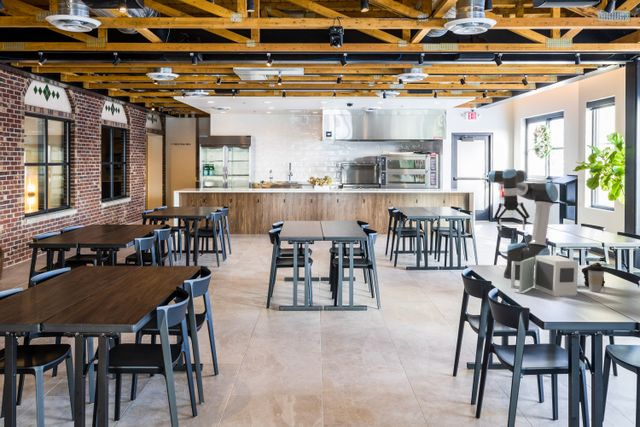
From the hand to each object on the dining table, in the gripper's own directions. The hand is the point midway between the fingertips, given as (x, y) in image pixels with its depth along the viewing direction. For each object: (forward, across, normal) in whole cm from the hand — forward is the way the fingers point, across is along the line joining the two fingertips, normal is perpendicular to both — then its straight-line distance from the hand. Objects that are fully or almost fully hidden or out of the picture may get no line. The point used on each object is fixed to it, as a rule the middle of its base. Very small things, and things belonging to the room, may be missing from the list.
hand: (512, 229), depth 337 cm
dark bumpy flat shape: (+42, +41, +30) cm, 66 cm away
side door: (+35, +5, -5) cm, 36 cm away
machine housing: (+38, +22, +1) cm, 44 cm away
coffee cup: (+41, +43, +14) cm, 61 cm away
